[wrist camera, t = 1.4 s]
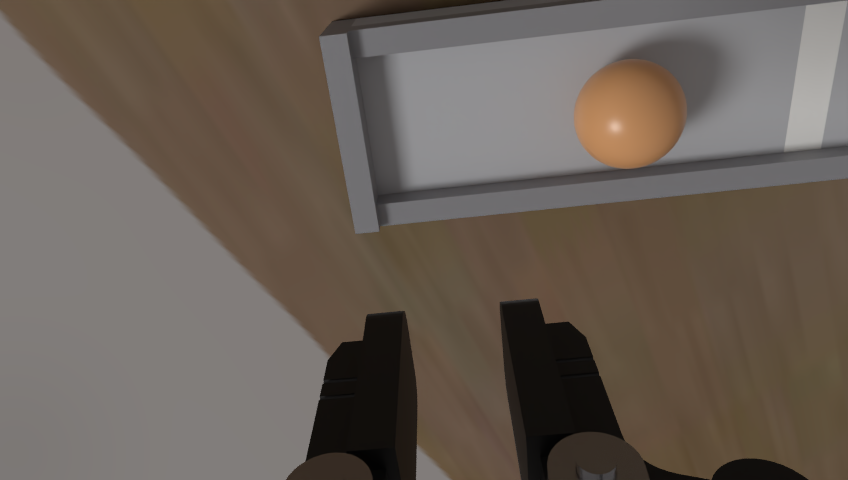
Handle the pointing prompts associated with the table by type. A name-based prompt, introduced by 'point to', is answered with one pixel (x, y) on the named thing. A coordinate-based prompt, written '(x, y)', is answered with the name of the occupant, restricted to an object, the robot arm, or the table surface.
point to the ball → (630, 113)
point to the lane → (556, 96)
